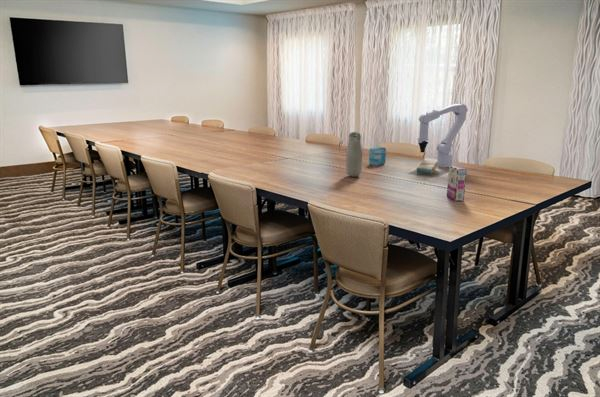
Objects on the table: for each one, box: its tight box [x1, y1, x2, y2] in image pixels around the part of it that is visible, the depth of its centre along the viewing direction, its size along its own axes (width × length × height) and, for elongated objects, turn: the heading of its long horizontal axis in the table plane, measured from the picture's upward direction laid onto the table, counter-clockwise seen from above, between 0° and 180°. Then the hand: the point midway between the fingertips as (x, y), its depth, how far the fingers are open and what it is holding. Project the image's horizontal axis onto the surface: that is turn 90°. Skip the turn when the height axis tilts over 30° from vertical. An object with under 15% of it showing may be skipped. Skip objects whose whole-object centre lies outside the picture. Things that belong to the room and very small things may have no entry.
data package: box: [368, 146, 387, 166], centre depth 330 cm, size 12×4×12 cm, turn 125°
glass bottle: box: [345, 131, 364, 178], centre depth 289 cm, size 10×10×28 cm
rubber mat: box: [407, 169, 448, 178], centre depth 300 cm, size 21×20×2 cm
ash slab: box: [416, 160, 438, 175], centre depth 297 cm, size 4×9×12 cm
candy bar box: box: [446, 165, 468, 202], centre depth 237 cm, size 11×5×16 cm, turn 5°
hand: (422, 152), depth 318 cm, fingers closed
